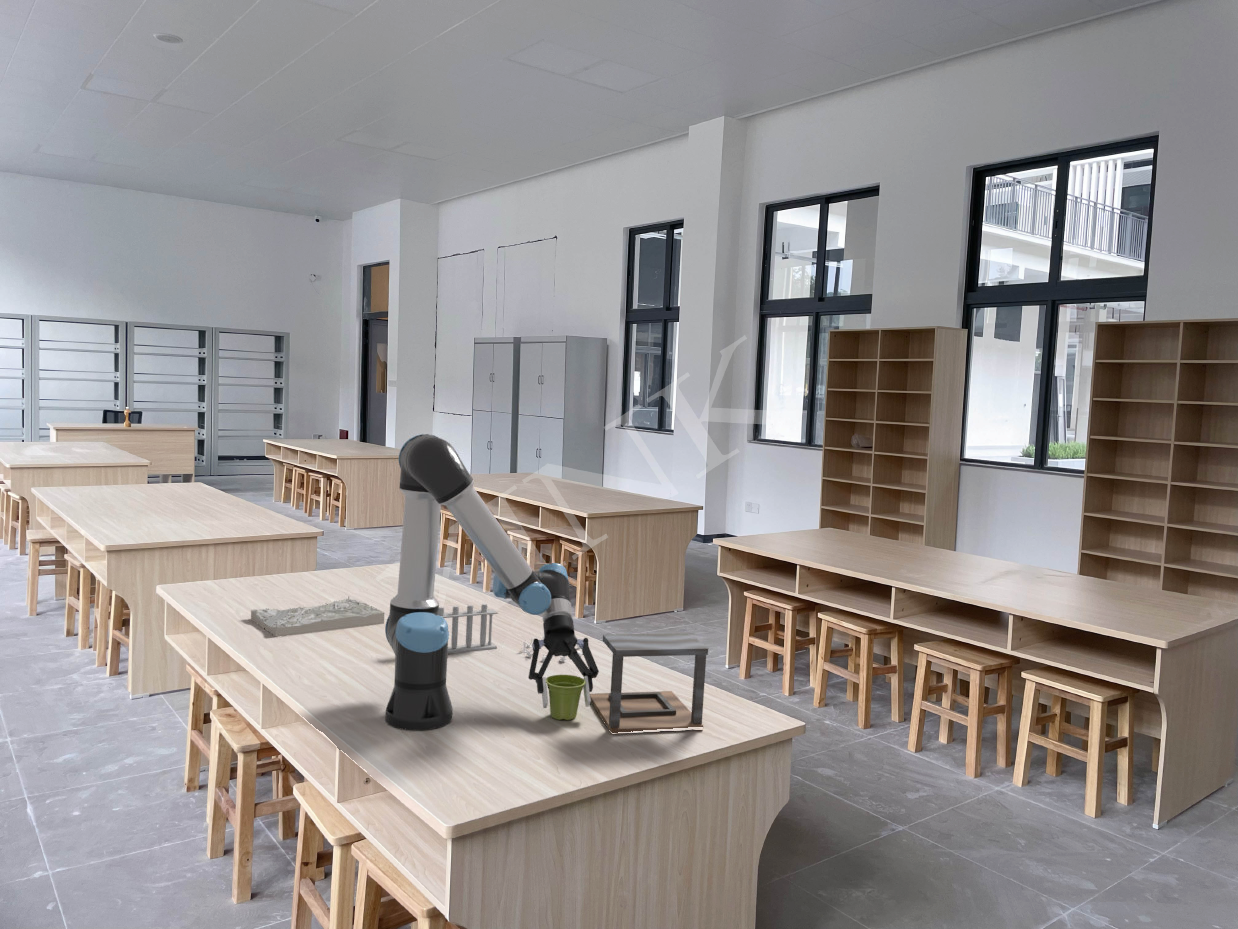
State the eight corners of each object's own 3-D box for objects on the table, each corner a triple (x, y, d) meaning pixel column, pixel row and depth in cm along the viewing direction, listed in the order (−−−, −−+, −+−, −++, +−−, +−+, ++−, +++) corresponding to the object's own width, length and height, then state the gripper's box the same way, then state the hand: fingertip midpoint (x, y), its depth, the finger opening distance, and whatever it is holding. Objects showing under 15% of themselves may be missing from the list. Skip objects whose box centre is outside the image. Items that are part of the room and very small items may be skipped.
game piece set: (521, 643, 270) (522, 631, 270) (586, 646, 272) (587, 633, 272) (519, 663, 251) (519, 649, 251) (589, 665, 253) (590, 652, 252)
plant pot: (562, 706, 217) (564, 671, 216) (591, 716, 211) (593, 681, 210) (535, 715, 210) (537, 680, 209) (564, 726, 204) (566, 689, 203)
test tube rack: (414, 657, 250) (416, 611, 249) (409, 653, 254) (411, 607, 253) (496, 649, 263) (498, 605, 262) (491, 645, 266) (493, 601, 265)
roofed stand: (588, 698, 224) (592, 622, 222) (671, 695, 229) (675, 621, 228) (611, 734, 201) (616, 650, 199) (703, 730, 206) (708, 648, 205)
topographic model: (384, 625, 283) (384, 609, 283) (275, 639, 262) (276, 622, 261) (354, 609, 301) (354, 594, 301) (250, 621, 280) (251, 605, 279)
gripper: (597, 628, 227) (609, 710, 213) (512, 629, 221) (518, 713, 207) (603, 612, 221) (616, 696, 207) (515, 613, 216) (522, 699, 202)
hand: (567, 704), depth 207 cm, fingers closed on plant pot, 9 cm apart
